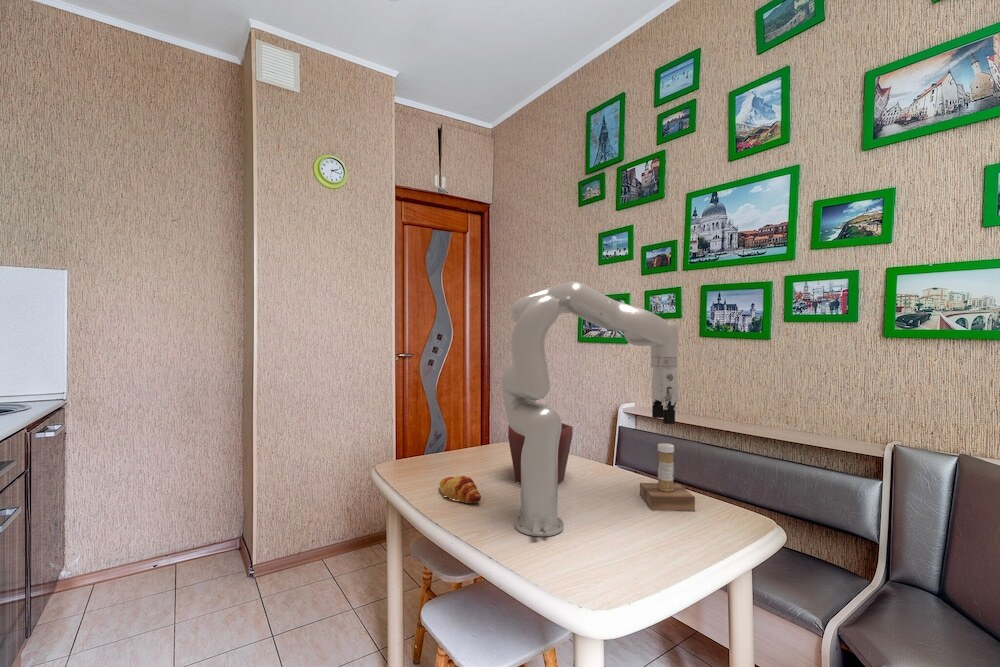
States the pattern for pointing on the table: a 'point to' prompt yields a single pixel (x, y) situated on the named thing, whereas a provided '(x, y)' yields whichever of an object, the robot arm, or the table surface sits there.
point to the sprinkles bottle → (665, 467)
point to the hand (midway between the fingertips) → (663, 420)
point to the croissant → (460, 489)
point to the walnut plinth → (667, 497)
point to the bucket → (563, 450)
